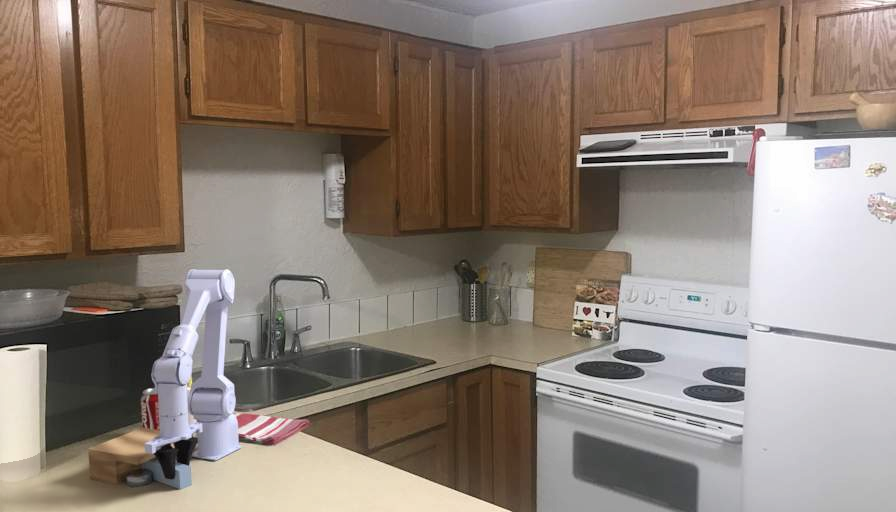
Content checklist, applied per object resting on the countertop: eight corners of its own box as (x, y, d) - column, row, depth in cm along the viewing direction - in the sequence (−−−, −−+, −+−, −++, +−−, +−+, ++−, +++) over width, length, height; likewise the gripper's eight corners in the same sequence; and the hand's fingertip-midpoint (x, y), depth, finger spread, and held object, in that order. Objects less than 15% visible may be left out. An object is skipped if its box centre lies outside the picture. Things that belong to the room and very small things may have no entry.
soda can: (176, 433, 184) (174, 387, 183) (159, 442, 178) (157, 395, 177) (154, 430, 186) (152, 386, 185) (136, 439, 180) (134, 393, 179)
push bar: (153, 471, 159) (152, 453, 159) (191, 484, 152) (190, 466, 151) (142, 475, 157) (141, 458, 157) (180, 489, 149) (179, 471, 149)
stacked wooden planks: (143, 454, 169) (142, 427, 169) (190, 463, 164) (189, 435, 163) (89, 478, 156) (88, 448, 155) (139, 488, 150) (137, 458, 149)
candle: (182, 430, 186) (180, 374, 185) (175, 424, 191) (173, 369, 190) (206, 426, 190) (204, 371, 188) (199, 419, 195) (197, 366, 194)
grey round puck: (139, 476, 157) (139, 467, 156) (157, 480, 155) (156, 471, 154) (121, 485, 152) (120, 476, 152) (138, 488, 150) (138, 479, 150)
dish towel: (275, 448, 174) (274, 438, 174) (196, 438, 182) (196, 428, 182) (310, 426, 190) (310, 417, 190) (237, 417, 198) (236, 408, 198)
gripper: (162, 425, 143) (165, 491, 144) (212, 405, 156) (214, 465, 157) (135, 421, 145) (139, 485, 147) (187, 401, 159) (190, 460, 160)
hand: (176, 474), depth 152 cm, fingers closed on push bar, 3 cm apart
